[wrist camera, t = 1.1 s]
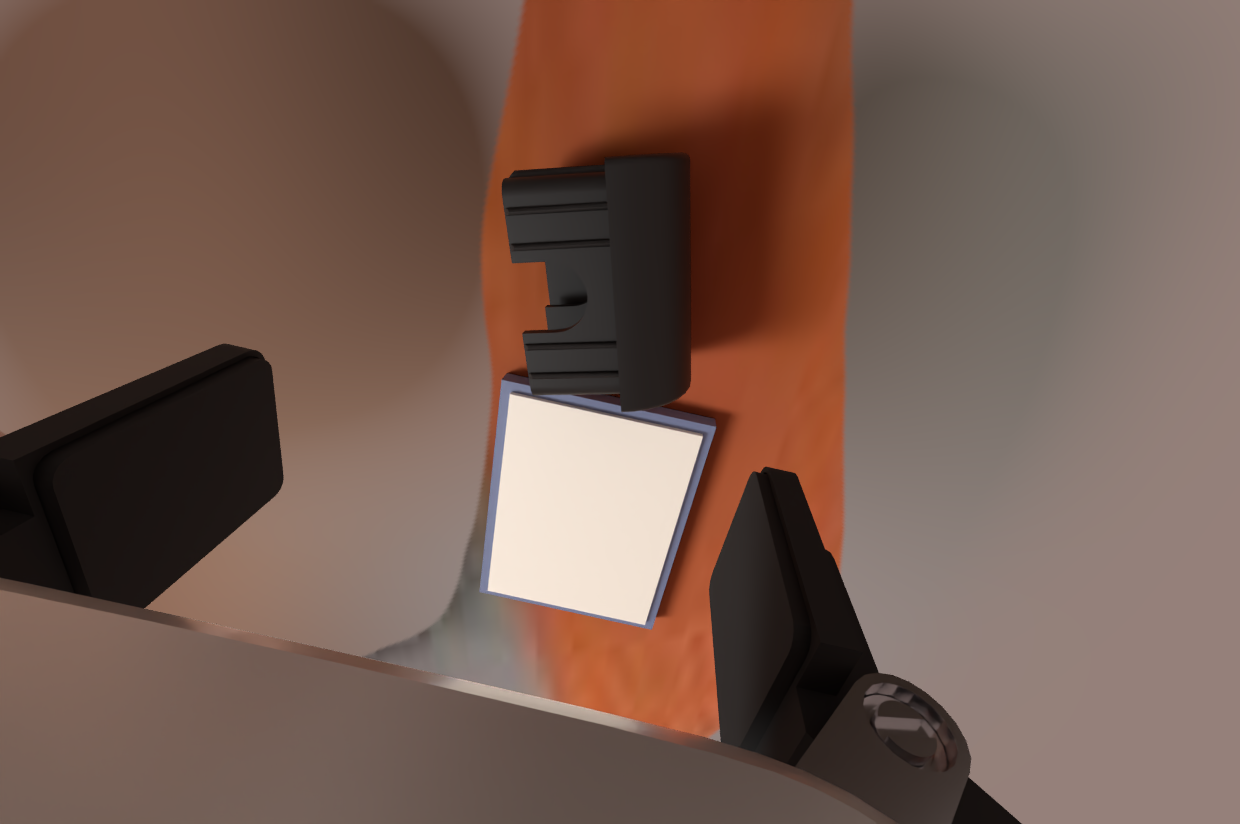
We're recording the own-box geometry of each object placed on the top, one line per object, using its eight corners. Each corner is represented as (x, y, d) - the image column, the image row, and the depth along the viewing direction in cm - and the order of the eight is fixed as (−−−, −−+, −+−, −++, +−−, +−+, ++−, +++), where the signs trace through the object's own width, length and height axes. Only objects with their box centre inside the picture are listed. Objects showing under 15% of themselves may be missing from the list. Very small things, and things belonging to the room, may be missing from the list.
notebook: (506, 372, 30) (500, 381, 28) (715, 418, 30) (716, 429, 28) (484, 581, 37) (478, 595, 35) (652, 618, 37) (651, 633, 35)
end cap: (688, 359, 28) (693, 413, 22) (559, 362, 29) (529, 416, 23) (687, 152, 24) (692, 150, 18) (536, 163, 25) (492, 164, 19)
